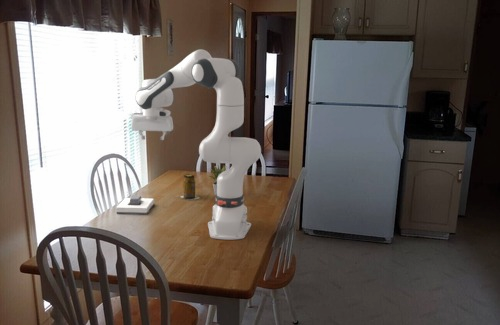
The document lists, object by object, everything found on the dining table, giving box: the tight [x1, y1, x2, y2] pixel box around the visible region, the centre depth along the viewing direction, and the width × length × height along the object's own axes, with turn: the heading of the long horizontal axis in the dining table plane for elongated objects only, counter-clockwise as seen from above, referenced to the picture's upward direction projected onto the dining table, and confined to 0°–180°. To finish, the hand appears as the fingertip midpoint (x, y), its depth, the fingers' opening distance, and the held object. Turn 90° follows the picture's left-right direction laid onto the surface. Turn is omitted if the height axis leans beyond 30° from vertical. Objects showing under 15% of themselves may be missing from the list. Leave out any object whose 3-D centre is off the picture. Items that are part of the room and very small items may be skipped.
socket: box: [115, 197, 155, 215], centre depth 211 cm, size 14×14×3 cm
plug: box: [130, 195, 142, 205], centre depth 211 cm, size 5×4×5 cm
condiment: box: [179, 173, 200, 201], centre depth 228 cm, size 7×8×12 cm
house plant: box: [207, 165, 228, 196], centre depth 232 cm, size 14×14×16 cm
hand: (152, 139), depth 220 cm, fingers open, 8 cm apart
